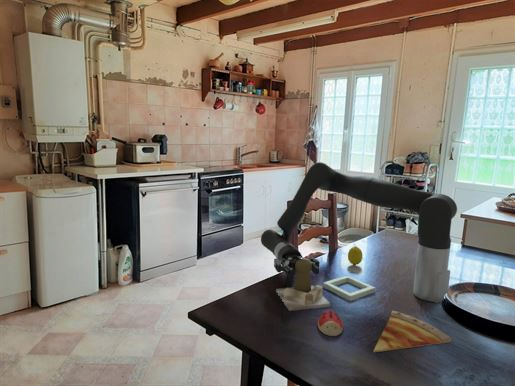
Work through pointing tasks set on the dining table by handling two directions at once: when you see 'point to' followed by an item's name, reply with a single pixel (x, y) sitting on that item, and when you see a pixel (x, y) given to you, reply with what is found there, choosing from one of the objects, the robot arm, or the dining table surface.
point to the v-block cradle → (303, 298)
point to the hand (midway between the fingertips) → (304, 272)
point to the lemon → (355, 255)
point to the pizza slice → (408, 333)
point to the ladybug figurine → (330, 323)
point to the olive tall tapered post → (303, 276)
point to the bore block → (349, 296)
